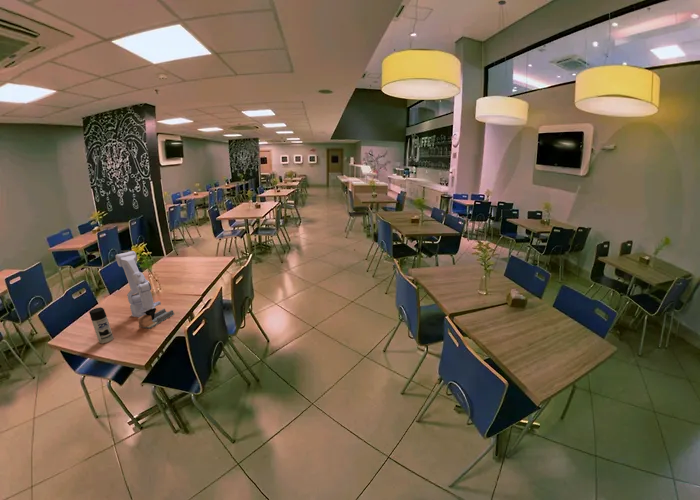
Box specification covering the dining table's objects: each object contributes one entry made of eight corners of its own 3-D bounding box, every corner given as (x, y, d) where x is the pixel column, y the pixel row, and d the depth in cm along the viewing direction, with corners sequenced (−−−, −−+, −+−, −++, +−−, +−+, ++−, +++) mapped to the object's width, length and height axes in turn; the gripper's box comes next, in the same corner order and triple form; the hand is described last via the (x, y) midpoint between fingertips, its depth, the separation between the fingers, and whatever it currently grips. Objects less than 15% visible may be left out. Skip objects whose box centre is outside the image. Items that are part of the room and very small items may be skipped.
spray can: (101, 345, 163) (91, 314, 157) (97, 341, 167) (86, 310, 161) (115, 339, 169) (106, 308, 163) (110, 335, 172) (101, 305, 166)
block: (139, 326, 179) (137, 318, 178) (147, 322, 184) (145, 314, 182) (145, 327, 178) (143, 319, 176) (152, 323, 182) (150, 315, 181)
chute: (138, 326, 181) (137, 322, 180) (164, 312, 197) (163, 308, 196) (149, 328, 178) (148, 324, 177) (174, 314, 195) (173, 310, 194)
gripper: (140, 306, 172) (146, 326, 177) (162, 296, 186) (166, 314, 190) (132, 305, 175) (137, 324, 179) (154, 294, 188) (158, 313, 192)
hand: (152, 319), depth 184 cm, fingers closed
